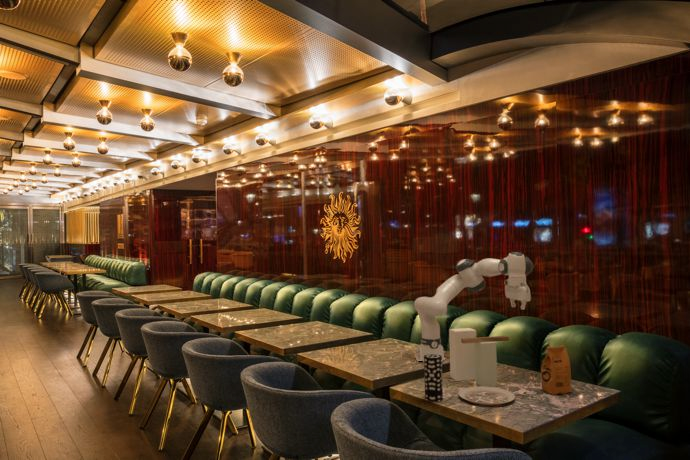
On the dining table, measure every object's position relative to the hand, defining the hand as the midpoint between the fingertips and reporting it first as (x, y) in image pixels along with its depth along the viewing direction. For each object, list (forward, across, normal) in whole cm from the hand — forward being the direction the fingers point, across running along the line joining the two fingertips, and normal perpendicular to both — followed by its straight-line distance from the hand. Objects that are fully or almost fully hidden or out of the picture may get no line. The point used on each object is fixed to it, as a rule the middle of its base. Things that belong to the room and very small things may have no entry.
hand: (518, 308), depth 265 cm
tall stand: (+37, +7, +29) cm, 48 cm away
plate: (+38, -27, +33) cm, 57 cm away
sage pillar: (+37, -7, +23) cm, 44 cm away
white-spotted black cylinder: (+37, -22, +57) cm, 72 cm away
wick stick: (+15, -7, +23) cm, 28 cm away
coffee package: (+37, -26, -4) cm, 46 cm away
